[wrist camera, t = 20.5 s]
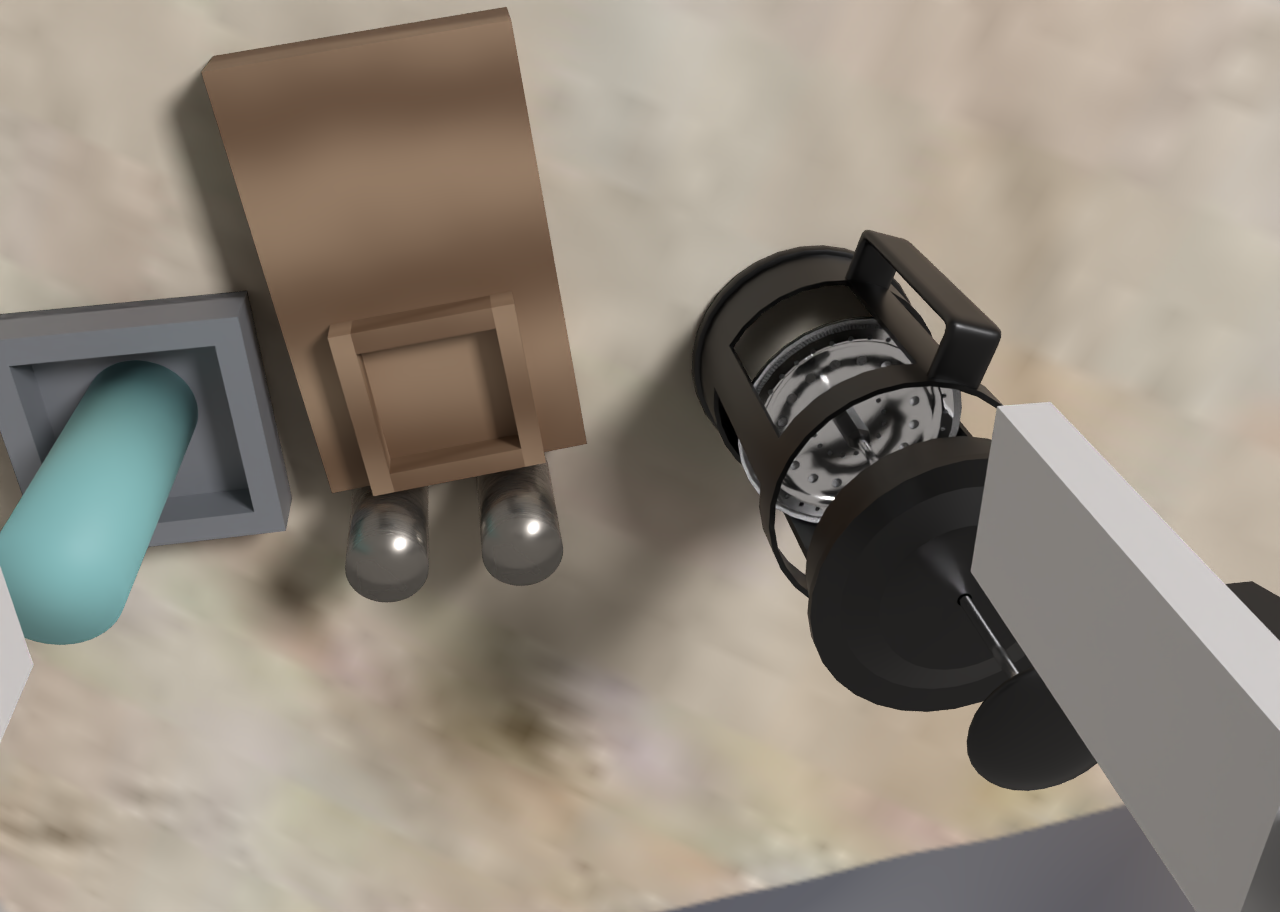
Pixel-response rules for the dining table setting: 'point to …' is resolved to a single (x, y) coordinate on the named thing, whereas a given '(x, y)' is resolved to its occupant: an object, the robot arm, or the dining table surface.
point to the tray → (197, 352)
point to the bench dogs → (509, 522)
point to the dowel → (96, 503)
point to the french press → (884, 493)
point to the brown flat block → (405, 247)
